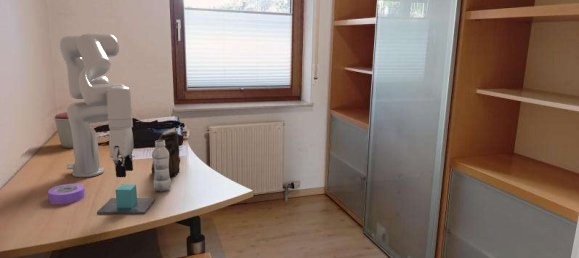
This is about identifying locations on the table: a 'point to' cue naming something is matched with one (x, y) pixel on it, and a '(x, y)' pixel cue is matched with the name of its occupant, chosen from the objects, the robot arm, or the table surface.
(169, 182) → the plastic bottle
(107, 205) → the dark grey base plate
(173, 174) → the owl
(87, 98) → the robot arm
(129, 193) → the teal rounded cube
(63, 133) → the canister
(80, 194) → the masking tape
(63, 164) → the table surface
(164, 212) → the table surface
